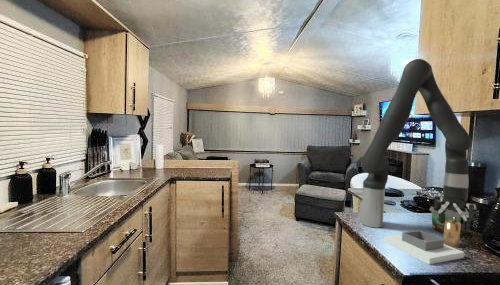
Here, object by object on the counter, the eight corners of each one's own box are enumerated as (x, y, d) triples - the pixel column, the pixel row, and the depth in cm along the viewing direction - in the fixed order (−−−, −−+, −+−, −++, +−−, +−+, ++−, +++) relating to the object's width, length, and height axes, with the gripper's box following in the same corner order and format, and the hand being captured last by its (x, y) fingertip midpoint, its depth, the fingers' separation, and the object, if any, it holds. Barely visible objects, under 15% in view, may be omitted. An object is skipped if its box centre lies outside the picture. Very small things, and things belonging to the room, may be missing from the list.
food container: (428, 230, 117) (430, 208, 117) (428, 226, 122) (430, 205, 122) (464, 237, 110) (466, 214, 110) (462, 233, 115) (464, 210, 115)
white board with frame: (384, 241, 103) (385, 229, 103) (415, 237, 109) (416, 225, 108) (429, 264, 86) (430, 249, 86) (463, 257, 92) (464, 243, 91)
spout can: (440, 242, 104) (442, 215, 104) (448, 241, 106) (450, 214, 105) (453, 248, 100) (455, 219, 99) (462, 246, 101) (464, 218, 101)
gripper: (430, 181, 107) (428, 221, 107) (469, 189, 93) (467, 234, 94) (443, 181, 109) (441, 220, 110) (483, 188, 96) (481, 232, 96)
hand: (453, 226), depth 102 cm, fingers open, 8 cm apart
